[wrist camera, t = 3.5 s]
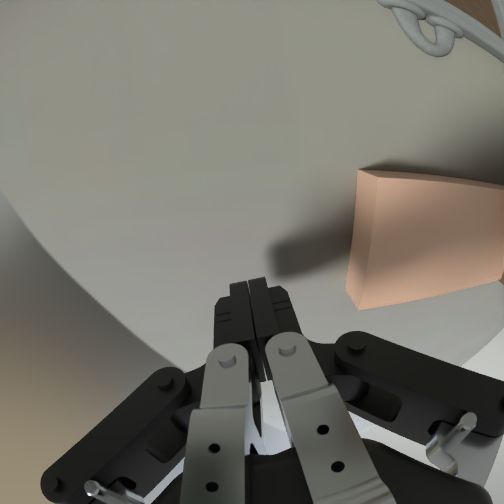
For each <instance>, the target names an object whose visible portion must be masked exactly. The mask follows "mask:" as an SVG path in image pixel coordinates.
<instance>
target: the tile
mask: <svg viewBox="0 0 504 504" xmlns="http://www.w3.org/2000/svg"><path fill="white" fill-rule="evenodd" d="M503 271H504V186H503V185H498V184H492V183H486V182H480V181H474V180H468V179H461V178H454V177H446V176H437V175H428V174H418V173H407V172H394V171H379V170H359V169H358V174H357V191H356V204H355V216H354V226H353V235H352V244H351V252H350V259H349V267H348V273H347V280H346V286H345V290H346V291H347V293H348V295H349V296H350V298H351V299H352V301H353V302H354V304H355V305H356V307H357V308H358V310H363V309H369V308H375V307H381V306H387V305H392V304H398V303H403V302H408V301H413V300H418V299H423V298H428V297H432V296H437V295H441V294H446V293H450V292H454V291H458V290H463V289H467V288H470V287H474V286H478V285H482V284H486V283H489V282H493V281H496V280H500V279H501V277H502V274H503Z"/></svg>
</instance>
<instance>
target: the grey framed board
mask: <svg viewBox="0 0 504 504" xmlns="http://www.w3.org/2000/svg"><path fill="white" fill-rule="evenodd" d="M378 2H379V4H380V5H382V6H383V7H385V8H388V9H392V11H393V13H394V15H395V17H396V19H397V21H398V23H399V24H400V26H401V28H402V29H403V31H404V32H405V34H406V35H407V36H408V37H409V39H410V40H411V41H412V42H413V43H414V44H415V45H416V46H417V47H418V48H419V49H421V50H422V51H423V52H425V53H427V54H429V55H431V56H435V57H440V56H445V55H447V54H448V53H449V52H450V51H451V50H452V48H453V45H454V39H455V37H456V38H461V37H465V38H467V39H468V40H470V41H472V42H473V43H475V44H477V45H478V46H480V47H481V48H483V49H484V50H486V51H487V52H489V53H490V54H492V55H493V56H495V57H496V58H497V59H499V60H500V61H502V62H503V63H504V2H503V0H378ZM424 18H425V20H426V21H427V23H428V24H430V25H431V26H433V27H435V32H436V42H435V43H432V42H430V41H429V40H427V39H426V38H425V37H424V35H423V34H422V32H421V30H420V27H419V24H418V19H424Z"/></svg>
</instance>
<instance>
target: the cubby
mask: <svg viewBox="0 0 504 504" xmlns="http://www.w3.org/2000/svg"><path fill="white" fill-rule="evenodd" d="M499 281H500V282H501V283H502V284H503V285H504V271H503V274H502V277H501V279H500V280H499Z"/></svg>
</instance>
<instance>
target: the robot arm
mask: <svg viewBox="0 0 504 504" xmlns="http://www.w3.org/2000/svg"><path fill="white" fill-rule="evenodd" d="M248 284H249V288H248ZM249 290H250V292H249ZM214 315H215V317H214V348H213V350H212V351H211V352H210V353H209V355H208V357H207V360H206V363H205V364H204V365H203V366H201V367H199V368H197V369H195V370H192V371H190V372H187V373H185V374H184V373H183V372H182V371H181V370H180V369H178V368H175V367H165V368H162V369H159V370H157V371H156V372H154V373H153V374H152V375H151V376H150V377H149V378H148V379H147V380H145V381H144V383H142V384H141V385H140V386H139V387H138V388H137V389H136V390H135V391H134V392H133V393H132V394H130V396H128V397H127V398H126V399H125V400H124V401H123V402H122V403H121V404H120V405H118V406H117V407H116V408H115V409H114V410H113V411H112V412H111V413H110V414H109V415H108V416H106V418H104V419H103V420H102V421H101V422H100V423H99V424H98V425H97V426H96V427H94V428H93V429H92V430H91V431H90V432H89V433H88V434H87V435H86V436H84V437H83V438H82V439H81V440H80V441H79V442H78V443H76V444H75V445H74V446H73V447H72V448H71V449H70V450H68V451H67V452H66V453H65V454H64V455H63V456H62V457H61V458H59V459H58V460H57V461H56V462H55V463H54V464H53V465H51V466H50V467H49V468H48V469H47V470H46V471H45V472H44V473H43V475H42V478H41V484H40V485H41V490H42V493H43V494H44V496H45V497H46V498H47V499H48V500H49V501H51V502H53V503H55V504H144V500H143V498H144V497H145V496H146V495H147V494H148V493H150V491H152V490H153V489H154V488H155V486H157V484H159V483H160V482H161V481H162V479H164V477H166V475H168V474H169V472H170V471H171V470H172V469H173V468H174V467H175V466H176V465H177V464H178V463H179V462H180V461H181V460H182V459H183V458H184V457H185V460H184V469H183V472H182V473H181V474H179V475H178V476H177V477H176V478H175V479H174V480H173V481H172V482H171V483H170V484H169V485H168V486H167V487H166V488H165V489H164V490H163V492H162V493H161V494H160V495H159V496H158V497H157V498H156V499H155V500H154V501H153V502H152V503H151V504H493V503H492V500H491V497H490V495H489V493H488V492H487V491H486V490H485V489H484V488H483V487H484V485H485V483H486V481H487V478H488V476H489V474H490V471H491V469H492V466H493V464H494V461H495V458H496V455H497V453H498V450H499V447H500V444H501V441H502V437H503V435H504V381H501V380H498V379H495V378H492V377H489V376H486V375H482V374H479V373H476V372H473V371H470V370H467V369H465V368H462V367H459V366H456V365H453V364H450V363H447V362H444V361H441V360H439V359H436V358H433V357H430V356H427V355H425V354H422V353H419V352H416V351H414V350H411V349H408V348H405V347H403V346H400V345H397V344H395V343H392V342H389V341H387V340H384V339H382V338H379V337H376V336H374V335H371V334H369V333H366V332H362V331H352V332H348V333H345V334H343V335H342V336H340V337H339V338H338V340H337V341H336V343H335V344H321V343H315V342H312V341H310V340H308V339H307V338H306V337H304V335H303V334H302V332H301V329H300V326H299V323H298V321H297V318H296V315H295V312H294V309H293V307H292V304H291V301H290V298H289V295H288V292H287V291H286V290H285V289H283V288H282V287H281V286H276V287H271V288H268V287H267V283H266V279H265V277H261V278H256V279H252V280H248V283H247V281H242V282H237V283H232V284H230V296H227V297H222V298H219V300H218V302H217V303H216V305H215V311H214ZM263 364H264V366H263ZM264 368H265V372H266V376H267V379H268V381H269V380H272V381H273V385H274V389H275V394H276V398H277V401H278V404H279V408H280V411H281V415H282V418H283V421H284V425H285V428H286V431H287V434H288V438H289V441H290V445H291V448H289V449H287V450H285V451H282V452H280V453H278V454H275V455H267V453H266V448H265V442H264V428H263V407H262V397H261V394H262V393H261V385H260V382H264V381H266V378H265V372H264ZM348 411H350V412H352V413H354V414H356V415H358V416H360V417H362V418H364V419H366V420H368V421H370V422H372V423H374V424H376V425H379V426H381V427H383V428H385V429H387V430H389V431H391V432H394V433H396V434H398V435H400V436H403V437H405V438H407V439H410V440H412V441H415V442H417V443H420V444H422V445H425V446H426V456H427V458H428V459H429V461H430V462H431V463H432V464H434V465H436V466H437V467H439V468H440V470H438V469H436V468H434V467H431V466H429V465H427V464H424V463H422V462H420V461H417V460H415V459H413V458H411V457H409V456H407V455H405V454H403V453H400V452H398V451H396V450H394V449H392V448H390V447H388V446H386V445H384V444H382V443H380V442H377V441H374V440H370V439H364V438H361V437H360V435H359V433H358V431H357V429H356V427H355V425H354V423H353V421H352V419H351V416H350V414H349V412H348Z"/></svg>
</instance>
